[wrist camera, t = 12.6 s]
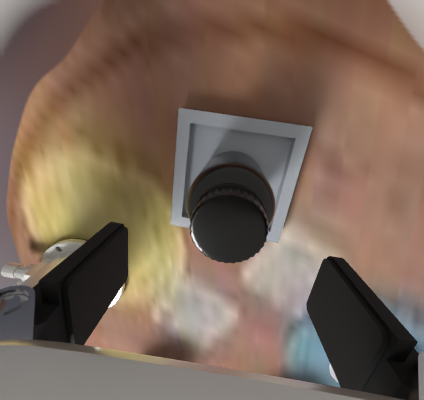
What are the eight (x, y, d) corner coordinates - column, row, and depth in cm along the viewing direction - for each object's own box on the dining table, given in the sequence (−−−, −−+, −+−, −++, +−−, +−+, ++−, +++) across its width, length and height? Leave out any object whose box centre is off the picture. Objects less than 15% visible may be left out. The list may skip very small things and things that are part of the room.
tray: (174, 217, 27) (170, 224, 25) (183, 108, 22) (178, 107, 20) (275, 234, 26) (278, 242, 24) (305, 126, 22) (312, 126, 20)
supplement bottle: (274, 167, 22) (314, 213, 11) (242, 217, 25) (249, 294, 14) (218, 137, 22) (202, 153, 11) (191, 191, 24) (156, 249, 13)
